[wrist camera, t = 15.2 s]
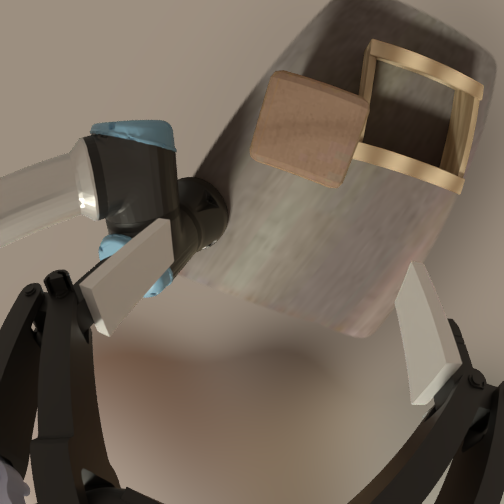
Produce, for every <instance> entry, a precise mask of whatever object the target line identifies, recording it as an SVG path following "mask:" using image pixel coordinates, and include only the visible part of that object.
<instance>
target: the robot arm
mask: <svg viewBox="0 0 504 504" xmlns="http://www.w3.org/2000/svg"><path fill="white" fill-rule="evenodd" d="M90 133H91V134H92V135H91V136H87V137H83V138H79V140H78V141H77V142H76V144H75V146H74V147H73V148H72V150H71V151H70V152H69V153H67V154H63V155H60V156H57V157H54V158H51V159H48V160H45V161H42V162H39V163H36V164H34V165H31V166H28V167H26V168H23V169H20V170H18V171H15V172H13V173H11V174H8V175H6V176H3V177H1V178H0V248H2V247H4V246H6V245H8V244H10V243H13V242H15V241H17V240H19V239H21V238H24V237H26V236H28V235H31V234H33V233H35V232H38V231H40V230H43V229H45V228H48V227H50V226H53V225H55V224H58V223H60V222H63V221H65V220H68V219H71V218H73V217H76V216H79V215H84V216H86V217H88V218H90V219H92V220H94V221H98V220H101V219H104V218H105V219H106V223H107V228H108V232H109V235H107V236H106V237H105V238H104V239H103V240H102V242H101V245H100V247H99V258H100V262H99V263H98V264H96V265H95V267H93V268H92V269H91V270H90V271H88V272H87V273H86V274H85V275H84V276H83V277H82V278H81V279H79V280H78V281H77V282H76V283H75V284H74V285H73V284H72V281H71V279H70V276H69V273H68V272H67V271H66V270H56V271H53V272H52V273H50V274H48V275H47V276H46V278H45V279H44V284H45V286H46V288H47V291H48V293H47V292H43V290H42V287H41V285H40V284H39V283H33V284H29V285H27V286H26V287H25V288H23V290H22V291H21V293H20V294H19V296H18V298H17V299H16V301H15V303H14V304H13V306H12V308H11V310H10V312H9V314H8V315H7V317H6V319H5V321H4V323H3V325H2V327H1V329H0V504H26V503H25V500H24V496H28V495H29V494H30V488H29V486H28V485H27V484H26V483H25V482H23V480H24V477H25V474H26V471H27V467H28V462H29V455H30V458H31V466H32V474H33V481H34V487H35V493H36V497H37V502H38V503H37V504H164V503H161V502H159V501H157V500H154V499H152V498H150V497H148V496H145V495H143V494H141V493H139V492H137V491H134V490H132V489H130V488H128V487H126V489H122V488H121V487H120V484H119V480H118V478H117V475H116V473H115V471H114V469H113V468H112V466H111V465H110V463H109V460H108V457H107V452H106V448H105V444H104V438H103V434H102V428H101V422H100V417H99V410H98V403H97V395H96V386H95V376H94V365H93V347H92V331H91V328H90V326H91V325H92V324H93V323H94V324H95V326H96V328H97V330H98V332H100V333H102V334H105V335H107V336H109V337H110V336H111V335H112V334H113V332H114V331H115V330H116V328H117V327H118V326H119V325H120V324H121V323H122V321H123V320H124V319H125V318H126V316H127V315H128V314H129V313H130V312H131V310H132V309H133V308H134V307H135V306H136V305H137V303H138V302H139V301H140V300H141V299H142V298H143V297H153V296H156V295H158V294H159V293H160V292H161V291H163V289H164V288H165V287H166V286H168V285H170V284H171V283H172V281H173V279H174V278H175V277H176V276H177V274H178V273H179V272H180V271H181V270H182V268H183V267H184V266H185V265H186V263H187V262H188V261H189V260H190V259H191V257H192V256H193V255H194V254H195V253H196V252H198V251H201V250H203V249H206V248H208V247H210V246H212V245H213V244H215V243H216V242H217V241H218V240H219V238H220V237H221V236H222V235H223V233H224V232H225V229H226V227H227V222H228V212H227V207H226V204H225V202H224V200H223V198H222V196H221V195H220V193H219V192H218V191H217V190H216V189H215V188H214V187H213V186H212V185H211V184H209V183H208V182H206V181H204V180H201V179H198V178H194V177H186V178H181V179H179V180H177V168H176V154H175V152H176V148H175V146H174V138H173V130H172V127H171V125H170V124H169V123H167V122H166V121H162V120H131V121H117V122H108V123H107V122H105V123H97V124H94V125H93V126H92V128H91V131H90ZM395 307H396V311H397V315H398V320H399V325H400V330H401V335H402V341H403V346H404V352H405V358H406V365H407V371H408V379H409V388H410V397H411V404H412V405H415V404H416V405H426V404H427V403H428V402H429V401H430V400H431V399H432V398H433V397H434V402H435V405H434V406H433V407H432V408H431V409H430V410H429V411H428V412H427V413H425V415H423V416H422V418H424V417H425V418H424V419H423V420H422V422H421V423H420V425H419V426H418V427H417V429H416V430H415V431H414V433H413V434H412V435H411V437H410V438H409V439H408V440H407V442H406V443H405V444H404V445H403V447H402V448H401V449H400V450H399V452H398V453H397V454H396V455H395V456H394V457H393V458H392V460H391V461H390V462H389V463H388V464H387V465H386V466H385V467H384V469H383V470H382V471H381V472H380V473H379V474H378V475H377V476H376V477H375V478H374V479H373V480H372V481H371V482H370V483H369V484H368V485H367V486H366V487H365V488H364V489H363V490H362V491H361V492H360V493H359V494H357V495H356V496H355V497H354V498H353V499H352V500H351V501H350V502H349V503H348V504H422V502H423V501H424V500H425V499H426V497H427V496H428V495H429V493H430V492H431V490H432V489H433V488H434V486H435V485H436V483H437V482H438V481H439V479H440V478H441V476H442V475H443V473H444V472H445V470H446V468H447V467H448V465H449V464H450V462H451V460H452V459H453V460H452V463H451V466H450V468H449V471H448V473H447V476H446V478H445V481H444V483H443V486H442V488H441V491H440V492H439V495H438V497H437V499H436V501H435V503H434V504H500V501H501V498H502V495H503V492H504V381H503V382H502V383H501V384H500V385H499V386H498V387H495V386H492V385H489V384H487V383H486V379H485V377H484V375H483V374H482V373H481V372H480V371H479V370H477V369H474V368H473V367H472V364H471V360H470V358H469V354H468V351H467V349H466V345H464V340H463V338H462V334H461V332H460V329H459V327H458V325H457V324H456V323H455V322H454V320H453V319H447V317H446V314H445V312H444V309H443V307H442V304H441V301H440V299H439V297H438V294H437V292H436V290H435V287H434V285H433V283H432V281H431V278H430V276H429V274H428V272H427V270H426V268H425V266H424V263H420V262H414V261H411V263H410V265H409V268H408V271H407V273H406V276H405V278H404V281H403V283H402V286H401V288H400V291H399V293H398V295H397V298H396V300H395ZM32 323H33V324H34V325H35V327H36V328H35V330H34V331H33V330H32V328H31V326H32ZM37 407H38V438H36V439H34V440H32V433H33V428H34V422H35V417H36V412H37Z"/></svg>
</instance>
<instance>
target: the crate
mask: <svg viewBox="0 0 504 504" xmlns="http://www.w3.org/2000/svg"><path fill="white" fill-rule="evenodd" d="M376 60H379V61H382V62H386V63H389V64H392V65H395V66H398V67H401V68H404V69H407V70H409V71H412V72H415V73H417V74H420V75H423V76H425V77H427V78H430V79H432V80H435V81H437V82H439V83H441V84H444V85H446V86H448V87H450V88H452V89H454V90H455V93H454V100H453V106H452V112H451V118H450V123H449V128H448V133H447V138H446V142H445V147H444V151H443V155H442V159H441V163H440V166H439V168H437V167H435V166H432V165H430V164H427V163H424V162H422V161H419V160H416V159H413V158H411V157H408V156H405V155H402V154H399V153H396V152H393V151H389V150H386V149H383V148H380V147H376V146H373V145H369V144H366V143H362V142H363V137H364V132H365V127H366V123H365V126H364V129H363V131H362V134H361V137H360V139H359V142H358V145H357V147H356V150H355V153H354V155H353V159H356V160H360V161H364V162H367V163H371V164H374V165H378V166H381V167H384V168H388V169H391V170H394V171H397V172H400V173H403V174H406V175H409V176H412V177H415V178H418V179H421V180H424V181H426V182H429V183H432V184H435V185H437V186H440V187H442V188H445V189H447V190H450V191H452V192H455V193H457V194H460V193H461V191H462V188H463V184H464V181H465V179H463V176H464V172H465V169H466V165H467V161H468V157H469V153H470V149H471V145H472V140H473V136H474V131H475V125H476V120H477V114H478V107H479V100H482V96H483V87H484V85H482V84H480V83H479V82H477V81H475V80H473V79H471V78H470V77H468V76H466V75H464V74H462V73H460V72H458V71H456V70H454V69H452V68H450V67H448V66H446V65H443V64H441V63H439V62H437V61H434V60H432V59H430V58H427V57H425V56H422V55H420V54H417V53H415V52H412V51H409V50H407V49H404V48H401V47H398V46H395V45H392V44H389V43H385V42H382V41H379V40H375V39H372V40H371V41H370V43H369V45H368V46H367V48H366V50H365V51H364V59H363V67H362V74H361V81H360V88H359V94H358V96H361V97H363V98H364V99H365V100H366V101H367V102H369V105H370V99H371V93H372V87H373V80H374V73H375V66H376ZM366 122H367V120H366Z"/></svg>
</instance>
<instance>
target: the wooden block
mask: <svg viewBox="0 0 504 504" xmlns="http://www.w3.org/2000/svg"><path fill="white" fill-rule="evenodd" d="M369 112H370V106H369V102H367V101H366V100H365V99H364V98H363V97H361V96H358V95H356V94H353V93H351V92H348V91H346V90H343V89H340V88H338V87H335V86H332V85H329V84H326V83H323V82H320V81H317V80H314V79H311V78H308V77H305V76H301V75H298V74H295V73H291V72H287V71H284V70H282V71H275V72H274V74H273V75H272V76H271V77H270V81H269V84H268V87H267V91H266V94H265V97H264V101H263V104H262V108H261V111H260V115H259V118H258V122H257V125H256V129H255V132H254V136H253V139H252V143H251V146H250V156H251V157H252V158H253V159H254V160H256V161H257V162H260V163H263V164H266V165H269V166H272V167H275V168H278V169H281V170H284V171H287V172H289V173H292V174H295V175H298V176H300V177H303V178H306V179H308V180H311V181H314V182H316V183H319V184H321V185H324V186H326V187H329V188H338V187H339V186H340V185H341V184H342V183H343V181H344V178H345V176H346V173H347V171H348V168H349V166H350V163H351V160H352V158H353V155H354V153H355V150H356V147H357V145H358V142H359V139H360V137H361V134H362V131H363V129H364V126H365V123H366V120H367V117H368V115H369Z"/></svg>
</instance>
